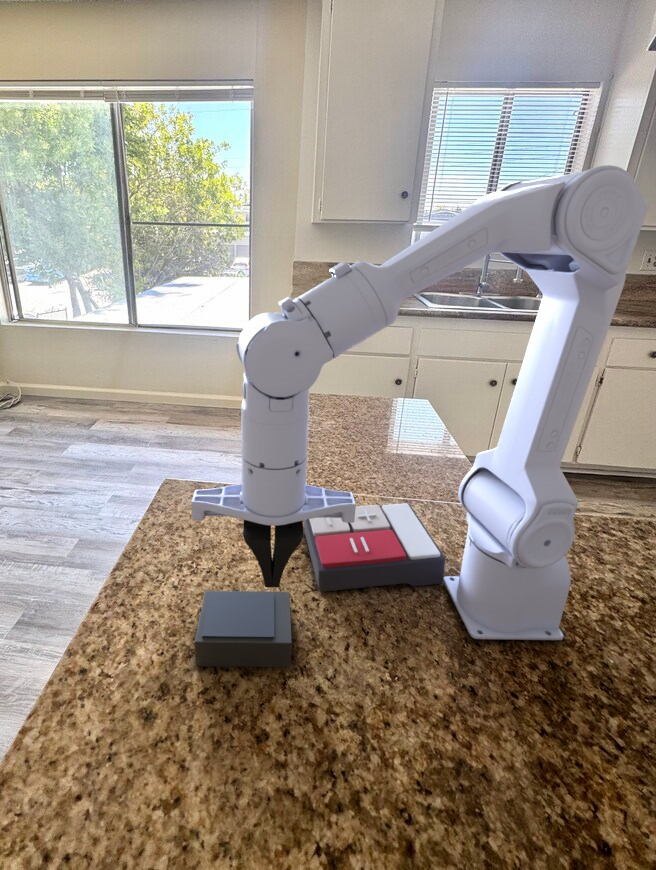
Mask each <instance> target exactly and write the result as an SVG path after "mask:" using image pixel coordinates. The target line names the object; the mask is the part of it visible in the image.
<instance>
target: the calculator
mask: <svg viewBox="0 0 656 870" xmlns="http://www.w3.org/2000/svg"><path fill="white" fill-rule="evenodd" d="M303 530H304V531H303V532H304V535H305V539H306V544H307V547H308V552H309V556H310V559H311V563H312V568H313V572H314V576H315V580H316V584H317V588H318V590H319V591H320V592H332V591H333V592H334V591H343V590H351V589H352V590H353V589H361V588H372V587H380V586H391V585H392V586H393V585H401V584H408V585H410V586H412V587H421V586H429V585H430V586H431V585H441V584H442V583H444V582H443V578H444V577H445V566H446V556H445V555H444V554H443V552H442V550H441V549H440V548H439V546H438V544H437V543H436V542H435V540H434V539H433V536H432V535H431V534H430V532H429V531H428V529H427V528H426V527H425V525H424V523H423V522H422V520H421V519H420V518H419V516H418V515H417V513H416V512H415V510H414V508H413V507H412V506H411V504H410V503H407V502H403V503H392V504H382V505H379V504H369V505H356V508H355V520H354V523H349V522H343V521H342V519H341V518H318V517H316V518H312V519H307V520H303Z"/></svg>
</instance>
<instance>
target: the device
mask: <svg viewBox="0 0 656 870" xmlns="http://www.w3.org/2000/svg"><path fill="white" fill-rule="evenodd" d="M290 601H291V600H290V591H269V590H268V591H267V590H265V591H262V590H260V591H259V590H257V591H255V590H204V592H203V597H202V603H201V607H200V613H199V618H198V623H197V628H196V634H195V638H194V652H195V653H194V654H195V656H194V657H195V667H235V668H238V667H240V668H241V667H247V668H248V667H249V668H257V667H258V668H291V667H292V666H291V665H292V645H293V644H292V625H291V624H292V622H291V621H292V619H291V602H290Z"/></svg>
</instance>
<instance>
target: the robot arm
mask: <svg viewBox="0 0 656 870" xmlns="http://www.w3.org/2000/svg"><path fill="white" fill-rule="evenodd" d="M648 210H649V204H648V202H647V201H646V199H645V197H644V196H643V194H642V192H641V190H640V189H639V187H638V185H637V183H636V181H635V179H634V178H633V177H632V175H631V174H630V173H629V172H628V171H627V170H625V169H623V167H619V166H617V165H611V164H607V165H606V164H605V165H598V166H595V167H593V168H589V169H587V170H585V171H578V172H573V173H567V174H563V175H562V174H561V175H557V176H550V177H545V178H540V179H539V178H538V179H534V180H517V181H513V182H510V183H508V184H505V185H504V186H503V187H501V188H500V189H499V190H497V191H496V192H491V193H489V194H486V195H484V196H481V197H478V198H477V200H476V201H474V202H473V203H472V204H471V205H469V206H468V207H466V208H465V209H464V210H462V211H461V212H459V213H457V214H456V215H454V216H453V217H452V218H449V219H448V220H447V221H445V222H444V223H442V224H440V225H439V226H438V227H436V228H435V229H433V230H432V231H430V232H429V233H427V234H426V235H424V236H422V237H421V238H419V239H418V240H417V241H415V242H414V243H412V244H410V245H409V246H408V247H406V248H404V249H403V250H401V251H400V252H398V253H397V254H395V255H394V256H393V257H391V258H389V259H388V260H386V261H385V262H383V263H382V264H381V265H377V264H374V263H370V262H366V261H362V260H359V261H355V262H354V263H353V264H351V265H350V263H349V262H343V261H341V262H339V263H338V264H336V265H334V266H332V267H331V268H329V273H330V275H331V277H330V278H327V279H326V280H324V281H322V282H321V283H319V284H318V285H316V286H315V287H312V288H311V289H310V290H308V291H306V292H304V293H302V294H301V295H299V296H298V297H296V298H294V299H293V298H291V297H290V296H287V297H284V298H283V299H282V300H280V301H278V306H279V307H280V311H281V312H276V311H274V312H270V311H269V312H263V313H260V314H257V315H255V316H254V317H253V318H252V319H250V320H249V321H248V322H247V323H246V324H245V325H244V326H243V330H242V331H241V332H240V335H239V338H238V342H236V344H235V346H236V347H235V349H236V353H237V357H238V358H239V361H240V362H241V364H242V365H243V369H244V371H245V372H244V373H243V382H242V386H241V395H242V397H243V399H242V402H241V406H240V416H241V418H240V420H241V423H240V426H241V427H240V431H241V432H240V433H241V435H240V437H241V438H240V441H241V446H240V447H241V449H240V450H241V483H236V484H231V485H226V486H221V487H220V486H219V487H215V488H214V487H213V488H208V489H207V488H206V489H195V490H194V492H193V496H192V498H191V502H190V505H191V520H192V521H204V520H205V519H206V517H232V518H236V519H240V520H242V521H243V529H242V537H243V539H244V543H245V544H246V546H248V548H249V549H250V551H251V552H252V553H253V555H254V557H255V559H256V561H257V563H258V565H259V569H260V571H261V575H262V578H263V583H264V587H265V588H278V589H279V588H280V587H281V586H280V585H281V580H282V577H283V573H284V571H285V569H286V566H287V564H288V562H289V560H290V559H291V557H292V555H293V554H294V552H295V550H297V548H298V547H300V545H301V544H302V541H303V538H304V532H305V531H304V520H307V519H312V518H316V517H318V518H341V519H342V521H343V522H349V523H354V520H355V508H356V506H357V503H356V500H355V498H354V494H353V492H352V491H342V490H335V489H329V488H324V487H319V486H315V485H310V484H307V469H308V445H309V444H308V442H309V420H310V405H309V397H310V396H309V393H310V389H311V387H312V386H313V385H314V384H315V383H316V382H317V380H318V378H319V375H320V373H321V371H322V368H323V367H324V365H325V364H326V363H328V362H329V363H330V362H331V361H332V360H334V359H336V358H337V357H339V356H341V355H343V354H344V353H345V352H348V351H349V350H351V349H352V348H354V347H355V346H357V345H359V344H361V343H362V342H364V341H366V340H368V339H369V338H371V337H372V336H374V335H375V334H377V333H379V332H381V331H382V330H384V329H386V328H388V327H389V326H391V325H392V324H394V323H395V321H396V320H397V318H398V315H399V312H400V309H401V305H402V302H403V301H404V300H406V299H408V298H410V297H411V296H413V295H415V294H417V293H419V292H422V291H423V290H424V289H427V288H428V287H430V286H432V285H434V284H436V283H438V282H440V281H441V280H444V279H445V278H448V277H449V276H451V275H453V274H455V273H457V272H459V271H461V270H462V269H464V268H466V267H468V266H470V265H472V264H473V263H476V262H477V261H479V260H481V259H483V258H485V257H487V256H489V255H492V254H499V255H500V256H502V257H504V258H505V259H506V260H508V261H509V262H511V263H513V264H514V265H515V266H517V267H519V268H520V269H521V270H523V271H525V272H526V273H527V274H528V276H529V277H530V279H531V280H532V281H533V283H534V284H535V285H536V287H537V288H538V289H539V291H540V292H541V294H542V298H541V302H540V305H539V308H538V310H537V314H536V318H535V321H534V324H533V328H532V331H531V334H530V338H529V341H528V343H527V347H526V350H525V354H524V356H523V360H522V363H521V367H520V370H519V374H518V377H517V380H516V383H515V387H514V390H513V393H512V396H511V399H510V402H509V406H508V410H507V412H506V416H505V419H504V422H503V426H502V429H501V432H500V436H499V439H498V443H497V445H496V447H494V448H491V449H487V450H483V451H480V452H478V453H477V454H476V456H475V459H474V462H473V464H472V467H471V468H470V470H469V471H468V473H466V475H465V476H464V478H463V479H462V480H461V482H460V485H459V488H458V500H459V503H460V505H461V506H462V507H463V508H464V509H465V510H466V517H465V522H466V523H467V524H468V528H467V533H466V540H465V545H464V549H463V557H462V562H461V566H460V573H459V576H458V575H457V576H454V575H453V576H449V575H447V576H446V575H444V577H443V582H442V583H443V584H444V586H445V589H446V590H447V592H448V594H449V596H450V598H451V600H452V602H453V604H454V607H455V608H456V610H457V612H458V614H459V616H460V617H461V621H462V622H463V624H464V626H465V628H466V630H467V632H468V634H469V635H470V637H471V638H472V639H474V640H513V641H515V640H516V641H517V640H518V641H519V640H520V641H521V640H523V641H524V640H525V641H562V640H563V639H564V636H565V635H564V633H563V631H562V630H561V629H560V626H561V622H562V618H563V614H564V612H565V611H564V610H565V607H566V604H567V600H568V596H569V592H570V589H571V583H572V575H571V574H572V573H571V568H570V564H569V561H568V558H567V556H566V555H567V554H568V552H569V551H570V549H571V548H572V546H573V544H574V539H575V535H576V533H575V532H576V529H575V521H574V520H575V515H576V512H577V509H578V506H579V499H577V496H576V495H575V493H574V491H573V489H572V487H571V485H570V484H569V481H568V480H567V478H566V476H565V475H564V472H563V471H562V468H561V464H562V462H563V459H564V455H565V453H566V450H567V447H568V445H569V442H570V439H571V436H572V433H573V430H574V428H575V424H576V422H577V419H578V416H579V414H580V411H581V408H582V405H583V403H584V399H585V396H586V393H587V391H588V388H589V386H590V382H591V381H592V378H593V377H592V376H593V374H594V371H595V368H596V367H597V362H598V360H599V357H600V354H601V351H602V348H603V346H604V344H605V340H606V337H607V335H608V331H609V329H610V326H611V323H612V320H613V318H614V315H615V312H616V309H617V306H618V303H619V301H620V298H621V295H622V292H623V289H624V286H625V282H626V276H627V270H628V268H629V267H628V266H629V264H630V261H631V258H632V255H633V253H634V249H635V247H636V244H637V241H638V238H639V235H640V233H641V229H642V228H643V224H644V221H645V218H646V215H647V212H648ZM273 526H274V541H273V542H274V543H273V551H272V527H273Z"/></svg>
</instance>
